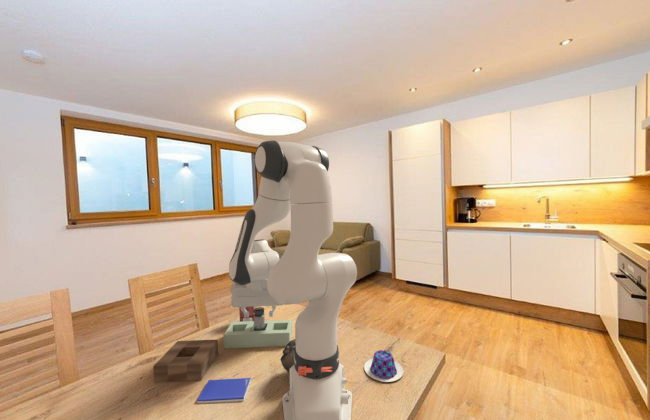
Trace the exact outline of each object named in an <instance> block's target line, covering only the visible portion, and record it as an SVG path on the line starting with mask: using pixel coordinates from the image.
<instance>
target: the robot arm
mask: <svg viewBox="0 0 650 420" xmlns="http://www.w3.org/2000/svg"><path fill="white" fill-rule="evenodd" d="M254 165H255V170H256V172H257V173H258V174H259V176H261V177H260V178H261V179H260V181H259V187H258V188H259V189H258V194H257V199H256V201H255V204H254V205H253V206H252V207H251V209H249V210H247V212H246V213H245V215H244V218H243V220H242V224H241V226H240V230H239V234H238V239H237V242H236V245H235V249H234V252H233V254H232V257H231V259H230V261H229V265H228V275H229V279H230V280H231V281H232V282H233V283H232V284H231V285H230V292H231V297H230V305H231V307H233V308H239V307H241V310H242V312H243V313H244V318H248V317H249V312H247V311H246V309H245V308H246V307H253V306H255V307H270V306H271V309H272V310H269V312H268V317H269V318H273V317H274V315H275V314H274V312H275V310H276V308H277V307H278V306H279V307H280V306H287V305H300V304H303V303H306V302H308V303H307V305H306V306H305V307H304V308H303V310H301V312H299V314H298V315H297V317H296V320H295V323H294V328H295V329H294V332H295V333H294V334H295V337H294V339H295V340H296V347H295V349H294V365H293V366H292V367H291V368H290V382H289V390H288V392H286V393H285V394H284V395H282V398H281V399H282V400H281V401H282V402H281V403H282V411H283V420H352V410H353V393H352V392H351V391H350V390H348V389H345V385H347V377H345V366H344V365H343V364H342V363H340V350H339V345H338V320H339V315H340V311H341V307H342V304H343V302H344V300H345V297H346V296H347V293H348V292H349V290H350V289H351V288H352V286H353V285H354V284H355V283H356V281H357V276H358V268H357V265H356V263H355V260H354V259H353V258H352V257H351V256H350V255H349V254H347V253H342V252H327V253H322V254H319V252H320V250H321V247H322V245H323V244H324V242H326V241H327V239H329V238H330V237H331V236H332V235H333V232H334V215H333V213H334V212H333V197H332V196H333V195H332V188H331V182H330V177H329V173H328V171H329V167H330V159H329V156H328V153H327V152H326V150H324V149H322V148H320V147H318V146H314V145H307V144H302V143H298V142H295V141H276V140H273V139H272V140H266V141H265V140H264V141H262V142H261V143H260V144H259V145H258V147H257V148H256V150H255V154H254ZM289 214H290V233H289V235H290V236H289V239H288V243H287V245H286V248H285V251H284V252H283V254H281V253H280V252H278V251H277V250H273V249H272V248H271V247H270V245H269V242H268V240H266V239H263V238H262V239H256V237H257V235H258V234H259V233H260V232H261V231H263V230H264V229H266V228H268V227H269V226H272V225H275V224H276V223H279V222H281V221H282V220H284V219H285V218H286V217H288V215H289Z"/></svg>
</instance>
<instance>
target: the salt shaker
mask: <svg viewBox="0 0 650 420" xmlns="http://www.w3.org/2000/svg"><path fill="white" fill-rule="evenodd" d="M265 321H266V320H265V308H264V306H257V307H255V309H254V331H263V330H265Z"/></svg>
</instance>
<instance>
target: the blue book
mask: <svg viewBox="0 0 650 420" xmlns="http://www.w3.org/2000/svg"><path fill="white" fill-rule="evenodd" d="M251 382H252V377H240V378H239V377H238V378H222V379H209V380H208V381H207V382H206V384H205V386H204V388H203V389H202V391H201V393H200V395H199V396H198V398H197V400H196V403H197V404H206V403H208V404H210V403H229V402H232V403H233V402H244V401H245V398H246V396H247V395H248V394H247V393H248V391H249V387H250V385H251Z"/></svg>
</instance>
